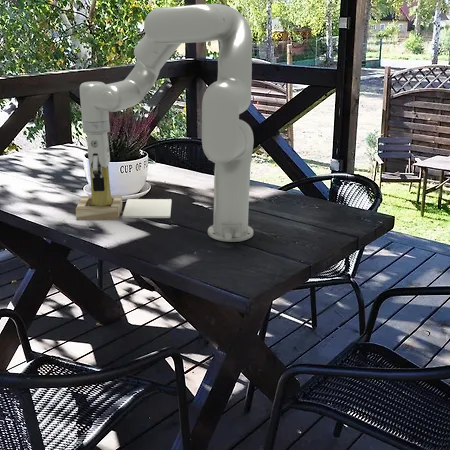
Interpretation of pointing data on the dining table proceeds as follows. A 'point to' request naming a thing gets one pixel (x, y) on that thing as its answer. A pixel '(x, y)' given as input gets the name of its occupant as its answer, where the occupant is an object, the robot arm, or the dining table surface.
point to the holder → (98, 209)
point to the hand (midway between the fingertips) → (100, 187)
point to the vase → (101, 196)
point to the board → (147, 208)
